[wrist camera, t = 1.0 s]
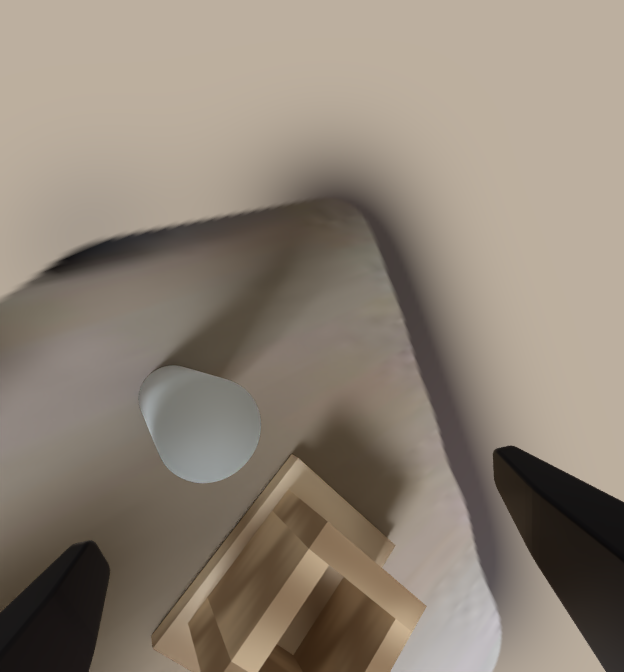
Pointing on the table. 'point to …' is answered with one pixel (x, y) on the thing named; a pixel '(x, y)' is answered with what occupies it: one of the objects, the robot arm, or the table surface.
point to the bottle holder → (293, 590)
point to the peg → (199, 422)
